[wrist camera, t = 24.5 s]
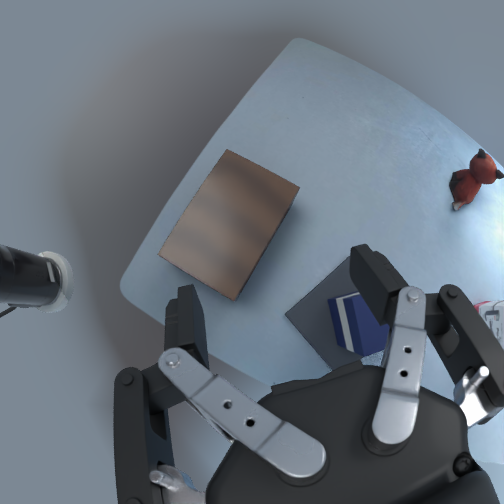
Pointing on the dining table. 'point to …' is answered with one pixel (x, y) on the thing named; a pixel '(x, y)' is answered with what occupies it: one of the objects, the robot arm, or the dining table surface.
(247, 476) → the robot arm
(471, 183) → the stuffed fox
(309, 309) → the mat
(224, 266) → the shelf
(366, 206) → the dining table surface
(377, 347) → the tea box
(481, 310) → the ink box
